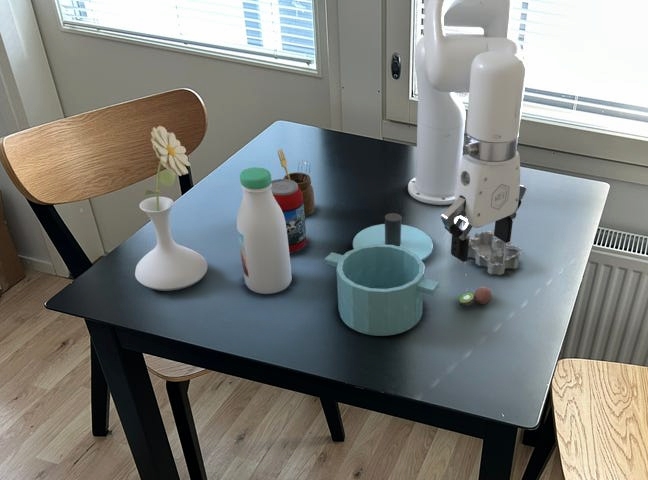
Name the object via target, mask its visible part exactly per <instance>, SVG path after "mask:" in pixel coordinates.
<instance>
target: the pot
mask: <svg viewBox="0 0 648 480" xmlns="http://www.w3.org/2000/svg"><path fill="white" fill-rule="evenodd" d="M323 260H324V265H327V266H330V267H334V268H336V284H337V285H336V287H337V288H336V289H337V305H338V312H339V316H340V319H341V320H342V321H343V323H344V324H345V325H346V326H348V327H349V328H350V329H352V330H354V331H356V332H358V333H360V334H365V335H369V336H378V337H379V336H380V337H384V336H385V337H387V336H394V335H397V334H401V333H404V332H407V331H409V330H410V329H412V328H414V327H415V326H416V325H417V324H419V322H420V321H421V319H422V316H423V307H424V306H423V305H424V294H427V295H431V296H434V295H435V293H436V292H437V290H438V289H439V288H440V282H439V281H435V280H432V279H428V278H425V263H424V261H421V259H420V258H419V256H418V255H416V254H414V253H413V252H411V251H409V250H408V249H405V248H402V247H398V246H394V245H383V244H373V245H367V246H360V247H358V248H355V249H353V248H352V249H351V250H349V251H346V252H345V253H344V254H340V253H336V252H333V251H332V252H330V253H329V254H328V255H327V256H326V257H325V258H324V259H323Z"/></svg>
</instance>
